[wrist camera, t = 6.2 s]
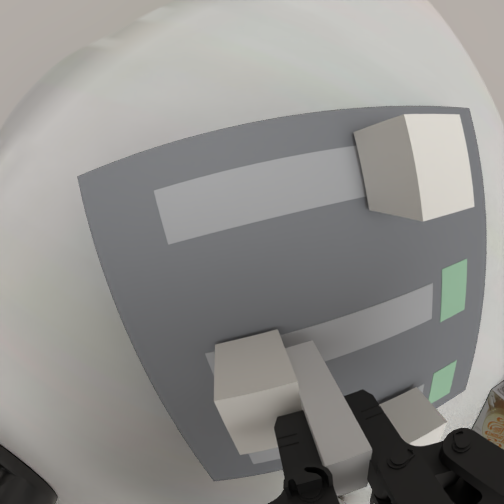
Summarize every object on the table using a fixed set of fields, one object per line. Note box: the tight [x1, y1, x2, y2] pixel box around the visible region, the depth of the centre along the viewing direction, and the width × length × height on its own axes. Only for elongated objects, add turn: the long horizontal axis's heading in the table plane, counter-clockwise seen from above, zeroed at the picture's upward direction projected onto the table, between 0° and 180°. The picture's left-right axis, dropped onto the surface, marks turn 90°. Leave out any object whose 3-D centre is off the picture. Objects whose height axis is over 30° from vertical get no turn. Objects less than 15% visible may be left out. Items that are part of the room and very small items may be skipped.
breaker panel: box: [78, 106, 486, 481], centre depth 15 cm, size 22×22×2 cm
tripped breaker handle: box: [214, 329, 302, 455], centre depth 11 cm, size 3×4×4 cm
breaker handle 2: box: [379, 387, 447, 446], centre depth 14 cm, size 3×4×4 cm
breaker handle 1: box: [353, 114, 475, 222], centre depth 10 cm, size 3×4×4 cm
